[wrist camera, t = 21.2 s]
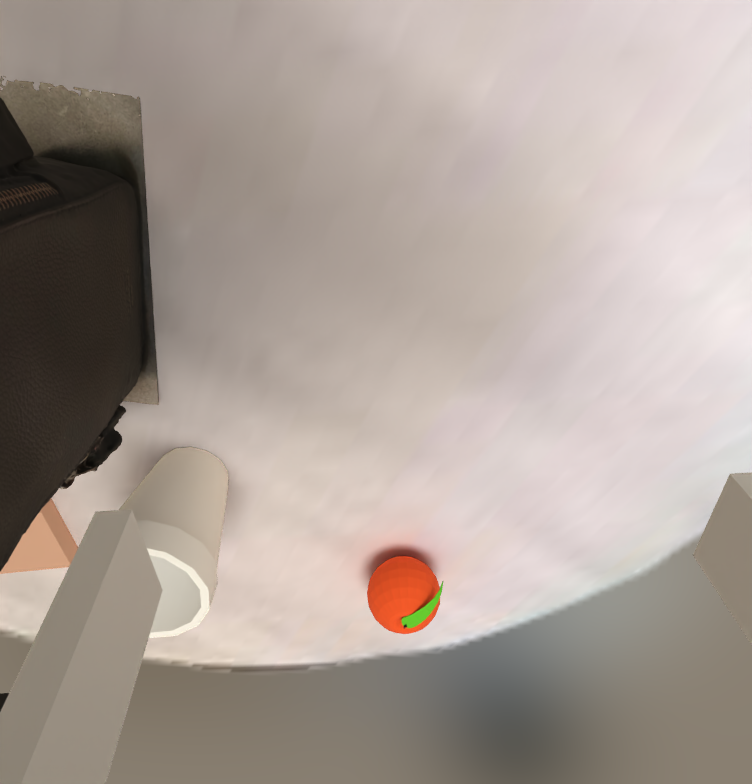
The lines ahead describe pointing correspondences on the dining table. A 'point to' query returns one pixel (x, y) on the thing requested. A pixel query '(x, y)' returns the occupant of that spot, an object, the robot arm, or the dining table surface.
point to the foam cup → (182, 533)
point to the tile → (43, 544)
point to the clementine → (404, 594)
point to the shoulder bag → (68, 290)
